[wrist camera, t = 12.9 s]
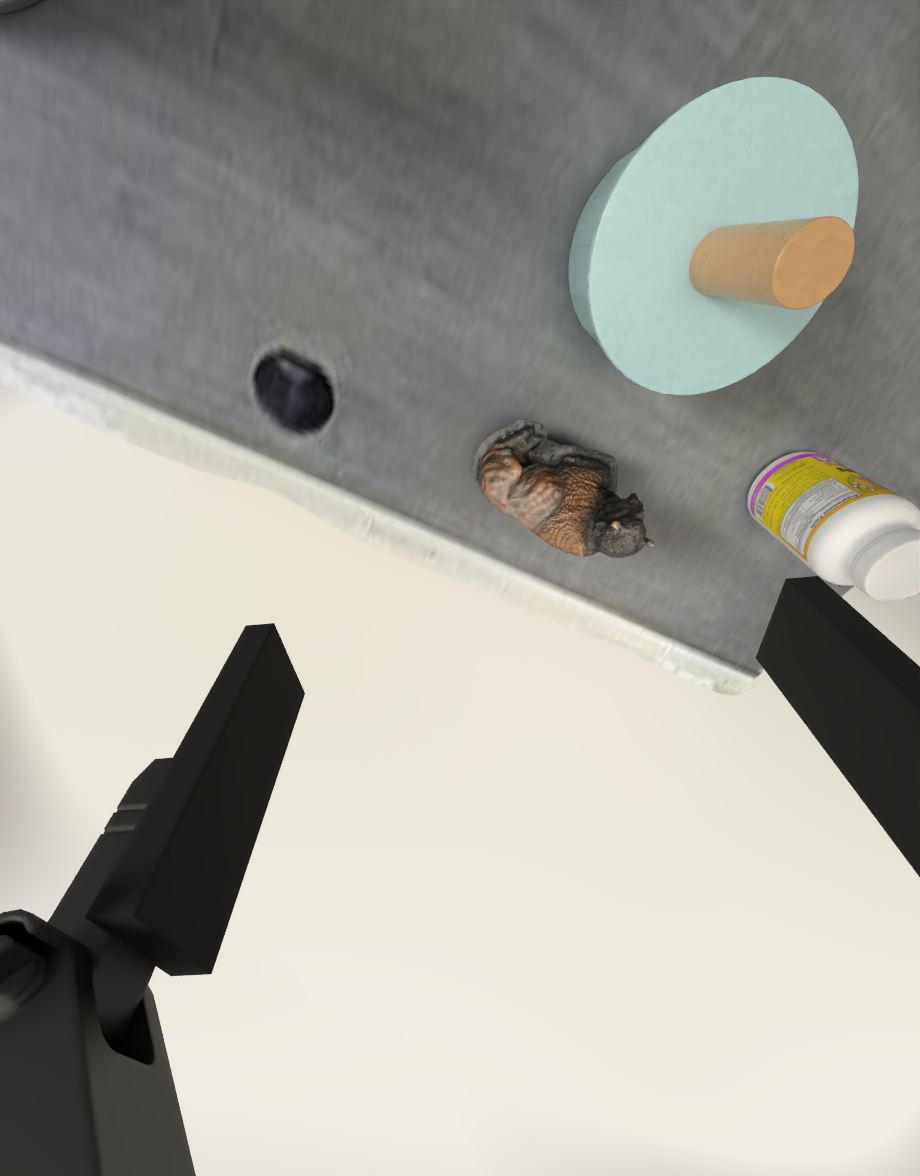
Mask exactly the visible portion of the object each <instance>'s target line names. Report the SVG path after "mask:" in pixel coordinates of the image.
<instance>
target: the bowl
mask: <svg viewBox="0 0 920 1176" xmlns="http://www.w3.org/2000/svg"><path fill="white" fill-rule="evenodd" d="M639 147H640V146H639ZM639 147H638V148H636V149H634V150H633V151H632V152H630V153H629V154H627V155H626V156H624V157H623V158H621V159H620V160H618V161H617V162H616V163H615V165H614V166H613V167H612V169H611V170H610V171H609V172H608V173H607V174H606V175H605V177H604V178H603V179H602V180H601V181H600V183H599V184H598V186H597V187H596V189H595V190H594V192H593V193H592V194H591V196H590V198H589V199H588V201H587V203H586V205H585V207H584V209H583V211H582V214H581V216H580V219H579V221H578V223H577V226H576V229H575V233H574V236H573V240H572V245H571V250H570V256H569V268H568V273H569V289H570V295H571V299H572V303H573V307H574V309H575V312H576V314H577V317H578V319H579V321H580V324H581V325H582V327H583V328H584V329H585V330H586V331H587V333H588V334H589V335H590V336H591V337H592V338H593V339H594V340H595V341H596V342H597V343H598V344H599V342H598V340H597V337H596V335H595V332H594V330H593V326H592V322H591V318H590V314H589V307H588V299H587V272H588V263H589V255H590V250H591V245H592V241H593V236H594V233H595V230H596V227H597V224H598V220H599V217H600V214H601V212H602V210H603V207H604V205H605V203H606V200H607V198H608V196H609V194H610V192H611V190H612V188H613V186H614V185H615V183H616V181H617V179H618V177H619V175H620V174H621V172H622V171H623V169H624V168H625V166H626V165H627V163H628V162H629V160H630V159H631V158H632V156H633V155H634V153H635V152H636V151H637V150H638V149H639ZM599 345H600V344H599Z"/></svg>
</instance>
